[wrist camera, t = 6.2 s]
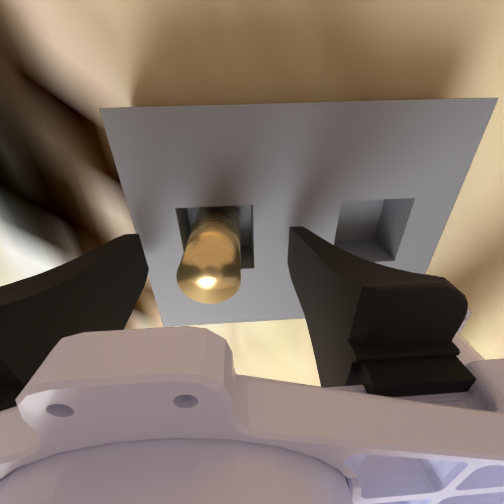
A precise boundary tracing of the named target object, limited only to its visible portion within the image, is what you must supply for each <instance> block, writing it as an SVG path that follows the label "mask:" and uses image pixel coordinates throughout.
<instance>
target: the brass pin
mask: <svg viewBox="0 0 504 504" xmlns="http://www.w3.org/2000/svg"><path fill="white" fill-rule="evenodd" d="M176 279H177V283H178V286H179V288H180V289H181V291H182V292H183V293H184V294H185V295H186V296H187V297H189V298H190V299H192V300H194V301H197V302H200V303H206V304H215V303H220V302H223V301H226V300H228V299H230V298H231V297H232V296H233V295H235V293H236V292H237V291H238V289H239V287H240V284H241V255H240V216H239V212H238V210H237V208H236V207H235V206H216V207H200V209H199V211H198V214H197V217H196V220H195V223H194V225H193V228H192V231H191V234H190V237H189V239H188V242H187V245H186V248H185V251H184V253H183V256H182V259H181V262H180V264H179V267H178V270H177V275H176Z"/></svg>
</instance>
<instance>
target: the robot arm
mask: <svg viewBox="0 0 504 504" xmlns="http://www.w3.org/2000/svg"><path fill="white" fill-rule="evenodd" d="M287 263H288V268H289V273H290V277H291V280H292V283H293V286H294V289H295V291H296V294H297V297H298V299H299V302H300V304H301V307H302V310H303V312H304V315H305V319H306V322H307V326H308V330H309V334H310V338H311V342H312V346H313V351H314V355H315V359H316V364H317V369H318V373H319V378H320V383H321V387H319V386H312V385H305V384H299V383H292V382H285V381H278V380H272V379H265V378H258V377H251V376H245V375H238V374H236V372H235V369H234V364H233V354H232V351H231V349H230V347H229V345H228V343H227V342H226V340H225V339H224V338H222V337H221V336H219V335H217V334H215V333H213V332H212V331H210V330H208V329H206V328H197V327H189V326H179V327H162V328H146V329H129V330H124V328H125V325H126V323H127V321H128V319H129V317H130V315H131V313H132V311H133V309H134V307H135V305H136V302H137V300H138V298H139V296H140V294H141V292H142V290H143V288H144V285H145V282H146V279H147V275H148V271H149V267H148V264H147V261H146V257H145V254H144V250H143V247H142V243H141V240H140V236H139V234H125V235H122V236H120V237H118V238H115V239H113V240H111V241H109V242H107V243H105V244H104V245H102V246H100V247H98V248H96V249H94V250H92V251H90V252H88V253H86V254H84V255H82V256H80V257H78V258H76V259H74V260H71V261H69V262H67V263H65V264H63V265H61V266H58V267H56V268H53V269H51V270H48V271H46V272H43V273H41V274H38V275H35V276H32V277H29V278H26V279H23V280H20V281H17V282H14V283H11V284H8V285H4V286H1V287H0V504H504V359H490V360H485V359H484V358H483V357H482V356H481V355H480V354H479V353H478V352H477V351H476V350H475V349H474V348H473V347H472V346H471V345H470V344H469V343H468V342H467V341H466V340H465V339H464V337H463V336H462V335H461V334H460V332H461V330H462V328H463V327H464V325H465V323H466V322H467V320H468V318H469V317H470V315H471V311H470V310H469V309H468V302H467V299H466V297H465V295H464V294H462V293H461V292H460V291H459V290H458V289H457V288H456V287H454V286H453V285H452V284H451V283H450V282H449V281H448V280H446V279H445V278H444V277H438V276H432V275H425V274H419V273H413V272H409V271H404V270H400V269H395V268H392V267H388V266H384V265H381V264H378V263H375V262H371V261H368V260H366V259H363V258H360V257H358V256H355V255H353V254H351V253H348V252H346V251H344V250H342V249H340V248H338V247H336V246H334V245H333V244H331V243H329V242H327V241H326V240H324V239H322V238H321V237H319V236H318V235H316V234H314V233H313V232H311V231H310V230H308V229H306V228H305V227H303V226H296V227H289V242H288V259H287Z"/></svg>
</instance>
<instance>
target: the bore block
mask: <svg viewBox="0 0 504 504" xmlns="http://www.w3.org/2000/svg"><path fill="white" fill-rule="evenodd" d="M497 100H498V98H444V99H407V100H370V101H334V102H297V103H260V104H223V105H186V106H149V107H120V108H100V109H99V110H100V113H101V117H102V120H103V124H104V127H105V130H106V134H107V137H108V141H109V144H110V147H111V151H112V154H113V157H114V161H115V164H116V168H117V171H118V174H119V178H120V181H121V185H122V188H123V191H124V195H125V198H126V201H127V205H128V208H129V212H130V215H131V218H132V222H133V225H134V229H135V232H136V234H139V236H140V240H141V243H142V247H143V250H144V254H145V257H146V261H147V264H148V267H149V271H148V276H149V279H150V283H151V286H152V289H153V293H154V296H155V300H156V303H157V306H158V310H159V313H160V316H161V320H162V323H163V327H169V326H186V325H202V324H219V323H235V322H252V321H268V320H285V319H301V318H305V315H304V312H303V310H302V307H301V304H300V302H299V299H298V297H297V294H296V291H295V289H294V286H293V283H292V280H291V277H290V273H289V268H288V263H287V259H288V242H289V227H296V226H303V227H305V228H306V229H308V230H310V231H311V232H313V233H314V234H316V235H318V236H319V237H321V238H322V239H324V240H326V241H327V242H329V243H331V244H333V245H334V246H336V247H338V248H340V249H342V250H344V251H346V252H348V253H351V254H353V255H355V256H358V257H360V258H363V259H366V260H368V261H371V262H375V263H378V264H381V265H384V266H388V267H392V268H395V269H400V270H404V271H409V272H413V273H419V274H425V273H426V271H427V268H428V266H429V264H430V261H431V259H432V256H433V254H434V252H435V249H436V247H437V244H438V242H439V240H440V237H441V235H442V232H443V230H444V228H445V225H446V223H447V220H448V218H449V216H450V213H451V211H452V208H453V206H454V204H455V201H456V199H457V196H458V194H459V192H460V189H461V187H462V184H463V182H464V180H465V177H466V175H467V172H468V170H469V168H470V165H471V163H472V160H473V158H474V156H475V153H476V151H477V148H478V146H479V144H480V141H481V139H482V136H483V134H484V132H485V129H486V127H487V124H488V122H489V120H490V117H491V115H492V112H493V110H494V108H495V105H496V103H497ZM216 206H235V207H236V208H237V210H238V212H239V216H240V255H241V284H240V287H239V289H238V291H237V292H236V293H235V295H233V296H232V297H231V298H230V299H228V300H226V301H223V302H220V303H215V304H206V303H200V302H197V301H194V300H192V299H190V298H189V297H187V296H186V295H185V294H184V293H183V292H182V291H181V289H180V288H179V286H178V283H177V279H176V275H177V270H178V267H179V264H180V262H181V259H182V256H183V253H184V251H185V248H186V245H187V242H188V239H189V237H190V234H191V231H192V228H193V225H194V223H195V220H196V217H197V214H198V211H199V209H200V207H216Z"/></svg>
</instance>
